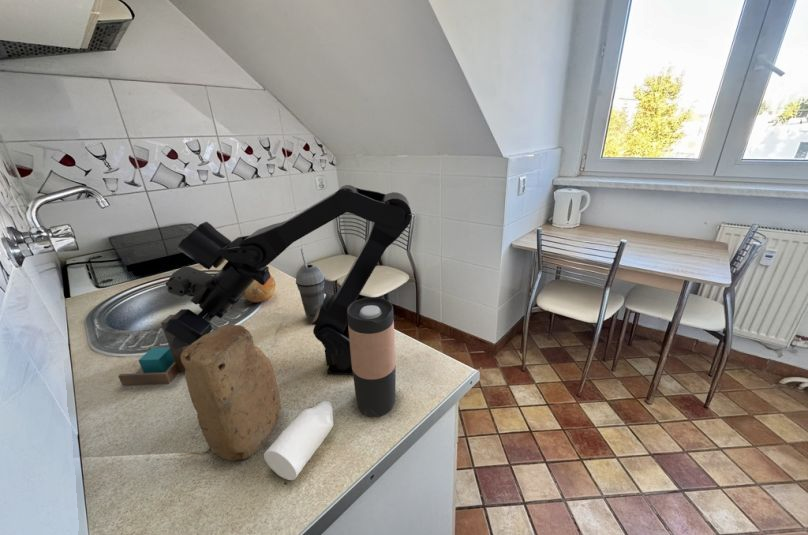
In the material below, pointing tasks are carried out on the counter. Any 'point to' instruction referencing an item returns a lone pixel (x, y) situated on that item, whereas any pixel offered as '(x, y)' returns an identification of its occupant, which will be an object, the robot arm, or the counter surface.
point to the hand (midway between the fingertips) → (187, 333)
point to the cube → (157, 360)
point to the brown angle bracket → (160, 377)
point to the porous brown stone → (232, 391)
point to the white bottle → (300, 441)
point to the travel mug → (372, 354)
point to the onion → (260, 291)
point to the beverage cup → (310, 288)
